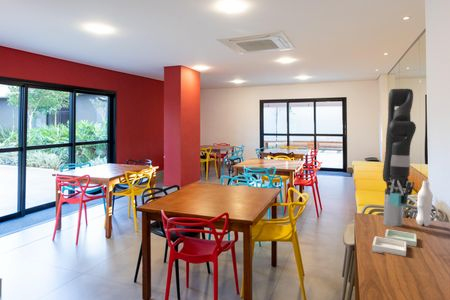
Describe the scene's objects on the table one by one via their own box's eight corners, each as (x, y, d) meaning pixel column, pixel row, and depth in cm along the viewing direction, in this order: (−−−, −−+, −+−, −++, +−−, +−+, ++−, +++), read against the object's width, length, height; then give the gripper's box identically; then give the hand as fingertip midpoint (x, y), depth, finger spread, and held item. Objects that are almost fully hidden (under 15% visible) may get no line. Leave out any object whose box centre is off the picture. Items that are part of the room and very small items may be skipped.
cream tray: (374, 242, 142) (375, 236, 142) (405, 248, 136) (406, 241, 136) (372, 251, 132) (372, 244, 131) (405, 258, 125) (406, 251, 125)
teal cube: (389, 203, 139) (389, 193, 139) (398, 203, 141) (398, 192, 140) (398, 206, 135) (398, 195, 134) (407, 205, 136) (407, 194, 136)
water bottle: (425, 223, 174) (427, 180, 172) (434, 227, 167) (436, 182, 165) (413, 223, 174) (415, 180, 172) (421, 227, 167) (424, 182, 165)
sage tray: (386, 234, 153) (386, 229, 153) (415, 239, 147) (415, 233, 146) (384, 242, 142) (384, 236, 142) (416, 248, 136) (416, 241, 136)
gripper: (420, 166, 131) (418, 205, 132) (394, 163, 145) (392, 199, 145) (406, 166, 129) (404, 206, 130) (381, 163, 143) (379, 199, 144)
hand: (398, 202), depth 138 cm, fingers closed on teal cube, 5 cm apart
